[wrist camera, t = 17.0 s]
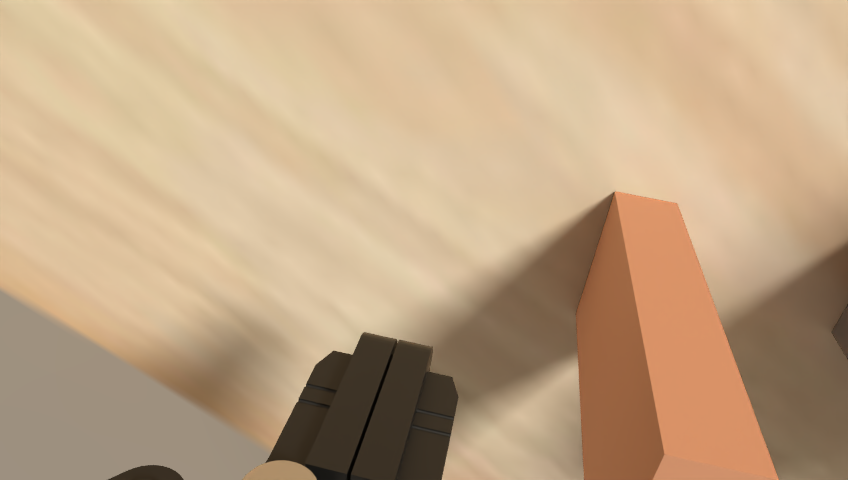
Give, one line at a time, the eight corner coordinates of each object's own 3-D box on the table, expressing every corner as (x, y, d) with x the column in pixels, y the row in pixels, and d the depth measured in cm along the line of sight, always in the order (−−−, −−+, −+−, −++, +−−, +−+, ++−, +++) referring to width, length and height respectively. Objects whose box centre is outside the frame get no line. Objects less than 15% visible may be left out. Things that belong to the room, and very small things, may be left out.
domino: (575, 313, 24) (590, 610, 14) (615, 191, 21) (664, 454, 12) (631, 325, 23) (683, 633, 14) (677, 203, 21) (778, 479, 11)
